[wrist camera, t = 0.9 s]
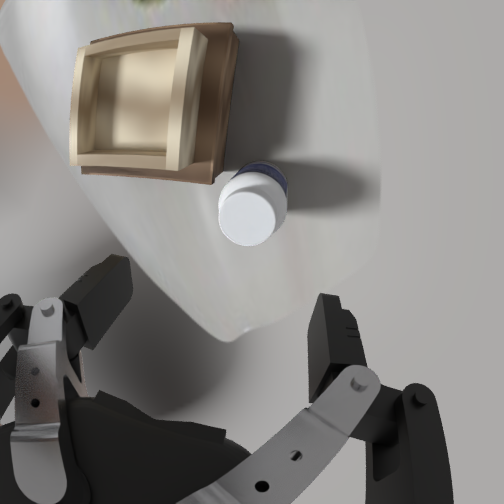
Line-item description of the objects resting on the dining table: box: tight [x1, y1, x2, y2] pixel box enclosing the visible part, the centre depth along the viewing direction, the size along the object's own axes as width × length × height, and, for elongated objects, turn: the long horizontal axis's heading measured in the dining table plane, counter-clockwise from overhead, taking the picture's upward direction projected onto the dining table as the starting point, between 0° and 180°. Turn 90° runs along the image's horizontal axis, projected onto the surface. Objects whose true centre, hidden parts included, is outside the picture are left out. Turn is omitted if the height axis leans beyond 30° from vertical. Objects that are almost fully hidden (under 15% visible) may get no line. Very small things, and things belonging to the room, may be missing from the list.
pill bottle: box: [218, 161, 288, 246], centre depth 23 cm, size 5×5×10 cm
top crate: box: [70, 27, 208, 171], centre depth 18 cm, size 11×11×4 cm
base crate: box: [81, 23, 239, 185], centre depth 22 cm, size 14×14×5 cm
